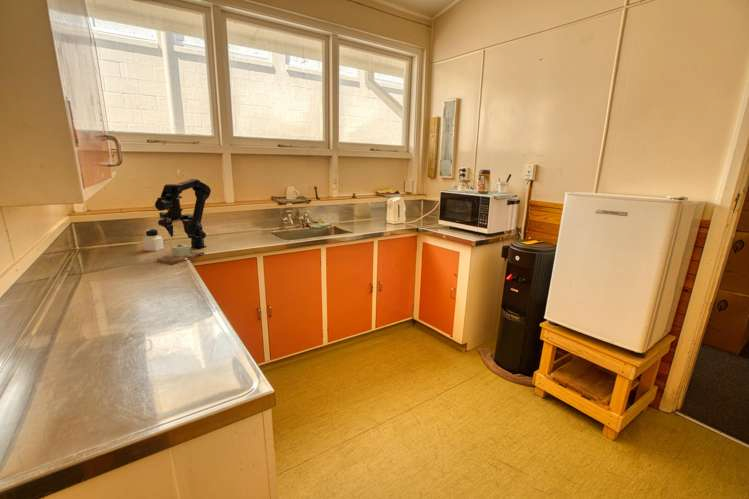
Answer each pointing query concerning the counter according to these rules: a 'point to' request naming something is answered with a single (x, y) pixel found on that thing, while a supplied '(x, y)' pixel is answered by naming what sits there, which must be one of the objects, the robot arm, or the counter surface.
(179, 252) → the square hollow cube
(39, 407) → the counter surface
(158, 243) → the medicine bottle
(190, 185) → the robot arm
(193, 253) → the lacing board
